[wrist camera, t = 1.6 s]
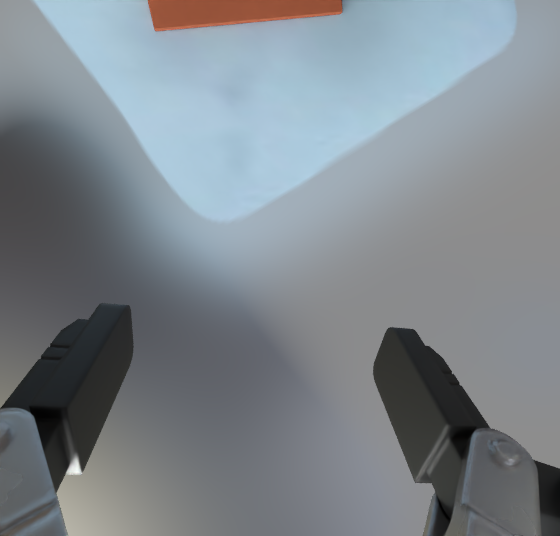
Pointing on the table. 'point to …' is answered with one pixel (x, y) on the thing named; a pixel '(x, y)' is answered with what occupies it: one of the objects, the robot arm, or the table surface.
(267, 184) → the table surface
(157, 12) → the terracotta mat
